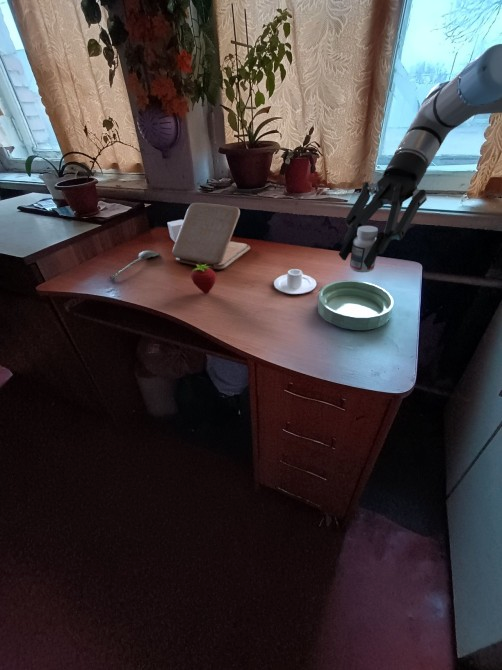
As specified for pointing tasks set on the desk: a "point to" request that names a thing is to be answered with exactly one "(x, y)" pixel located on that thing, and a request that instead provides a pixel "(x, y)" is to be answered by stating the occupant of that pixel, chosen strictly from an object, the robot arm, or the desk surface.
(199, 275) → the strawberry
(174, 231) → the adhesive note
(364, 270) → the pill bottle
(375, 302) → the bowl
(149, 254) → the soupspoon
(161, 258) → the desk surface
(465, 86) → the robot arm
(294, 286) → the candle holder
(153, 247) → the desk surface
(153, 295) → the desk surface
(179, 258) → the case
